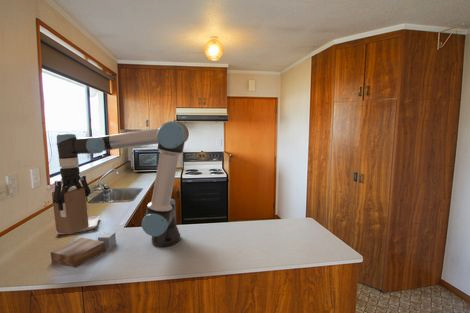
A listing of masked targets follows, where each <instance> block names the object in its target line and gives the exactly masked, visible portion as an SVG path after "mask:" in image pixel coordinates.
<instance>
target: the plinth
mask: <svg viewBox="0 0 470 313" xmlns="http://www.w3.org/2000/svg"><path fill="white" fill-rule="evenodd" d="M106 251H107V250H106V248H105V242H104V241H98V239H91V238H86V237H80V238H78V239H75V240H74V241H71V242H70V243H67V244H65V245H63V246H60V247H58V248H57V249H53V250H52V251H50V259H51V260H50V261H51V263H54V264H58V265H62V266H66V267H70V268H76V269H77V268H79V267H81V266H82V265H83V264H86V263H87V262H89V261H91V260H93V259H94V258H96V257H98V256H99V255H101V254H104V253H105V252H106Z"/></svg>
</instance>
